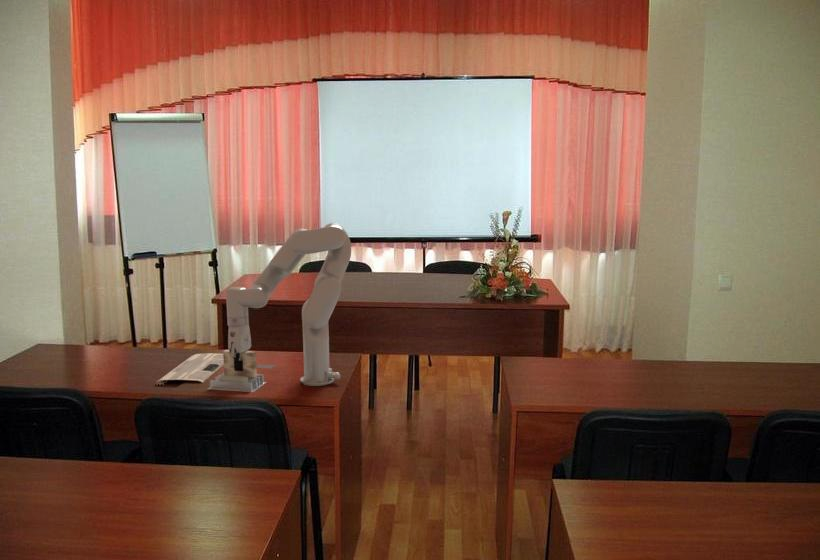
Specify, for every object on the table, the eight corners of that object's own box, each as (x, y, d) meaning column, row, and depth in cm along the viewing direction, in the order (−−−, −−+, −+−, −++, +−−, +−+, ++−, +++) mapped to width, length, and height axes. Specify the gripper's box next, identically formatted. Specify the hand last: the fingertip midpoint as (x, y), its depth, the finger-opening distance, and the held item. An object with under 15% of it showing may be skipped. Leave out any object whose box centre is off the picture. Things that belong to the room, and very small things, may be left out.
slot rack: (267, 384, 279) (266, 374, 278) (253, 394, 267) (253, 383, 266) (222, 381, 282) (221, 371, 282) (207, 391, 271) (206, 380, 270)
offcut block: (248, 387, 272) (248, 376, 271) (244, 389, 269) (244, 379, 268) (222, 385, 274) (222, 375, 273) (219, 388, 271) (218, 377, 271)
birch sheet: (257, 383, 277) (255, 351, 275) (255, 384, 275) (253, 352, 273) (227, 381, 280) (225, 349, 278) (224, 382, 278) (223, 351, 276)
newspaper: (202, 386, 278) (202, 379, 278) (151, 386, 280) (151, 379, 279) (233, 359, 314) (232, 353, 314) (188, 359, 316) (187, 353, 315)
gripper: (238, 326, 265) (240, 376, 268) (256, 316, 280) (258, 364, 283) (218, 325, 267) (221, 375, 270) (237, 315, 282) (240, 363, 285)
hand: (240, 369), depth 277 cm, fingers closed on birch sheet, 2 cm apart
